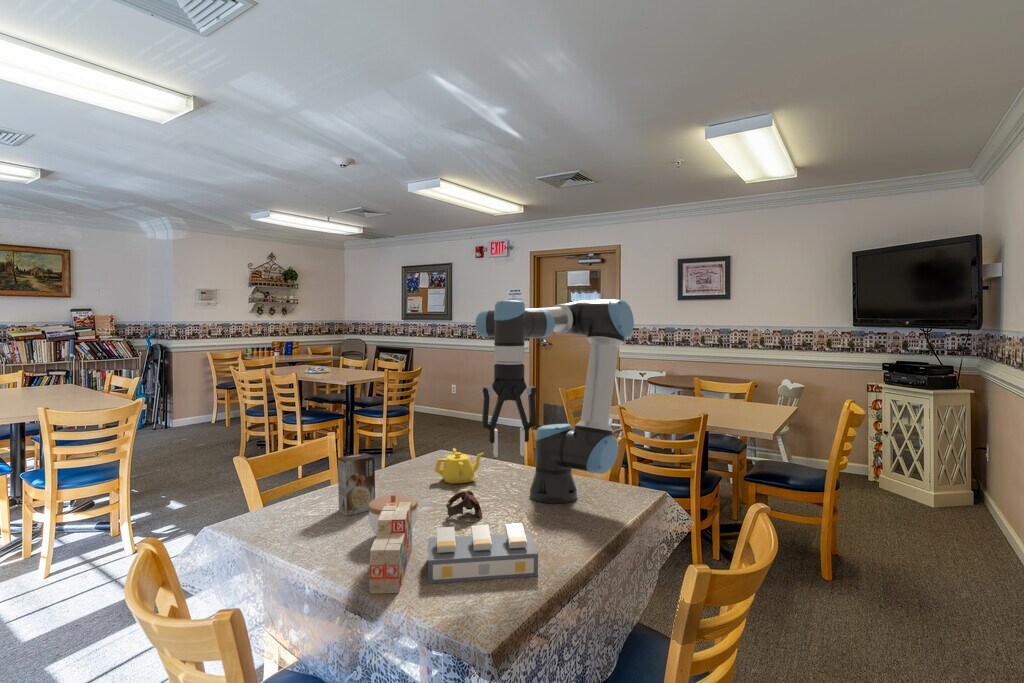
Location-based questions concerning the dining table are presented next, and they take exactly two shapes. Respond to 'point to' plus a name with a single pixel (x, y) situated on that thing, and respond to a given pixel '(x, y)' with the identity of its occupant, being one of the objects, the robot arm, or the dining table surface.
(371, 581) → the stack of blocks
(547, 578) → the dining table surface
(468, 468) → the teapot
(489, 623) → the dining table surface
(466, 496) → the brown curved piece
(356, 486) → the coffee box
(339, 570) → the dining table surface
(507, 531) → the small box
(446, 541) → the rocker
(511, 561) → the switch box
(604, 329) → the robot arm
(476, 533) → the rocker
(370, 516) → the lidded bowl
